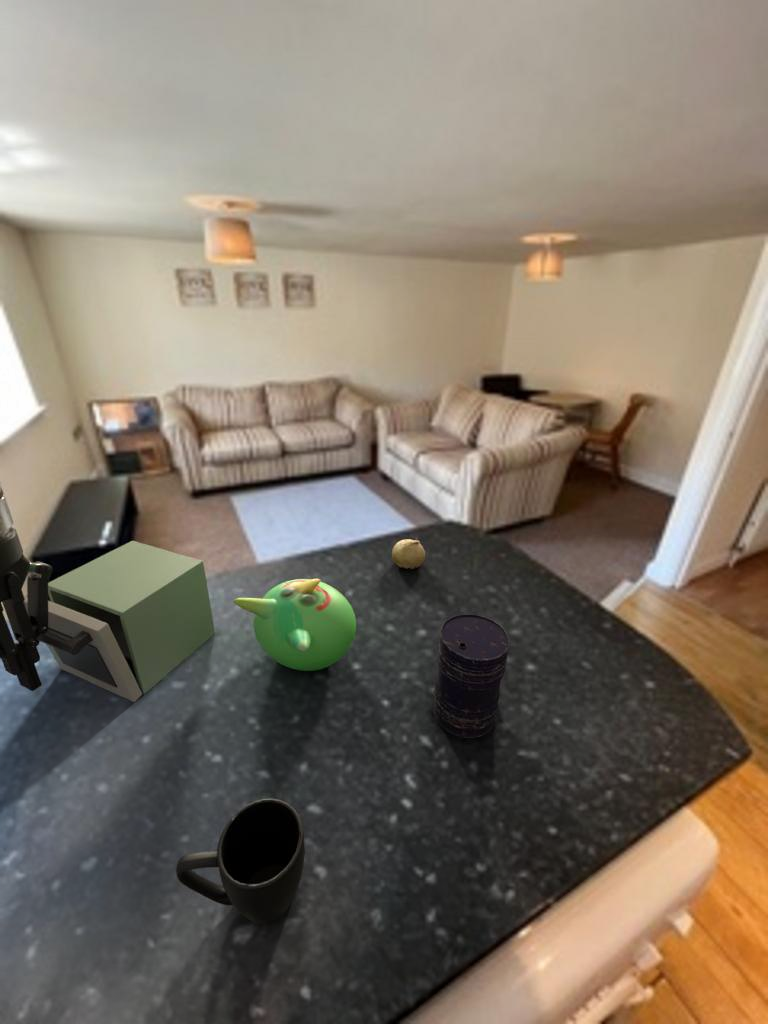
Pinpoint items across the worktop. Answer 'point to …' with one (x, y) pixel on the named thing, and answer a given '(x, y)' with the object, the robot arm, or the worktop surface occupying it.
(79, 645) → the door
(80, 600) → the oven
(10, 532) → the robot arm
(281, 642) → the toy bird
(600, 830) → the worktop surface
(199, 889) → the mug
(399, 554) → the onion
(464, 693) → the dark oil drum
